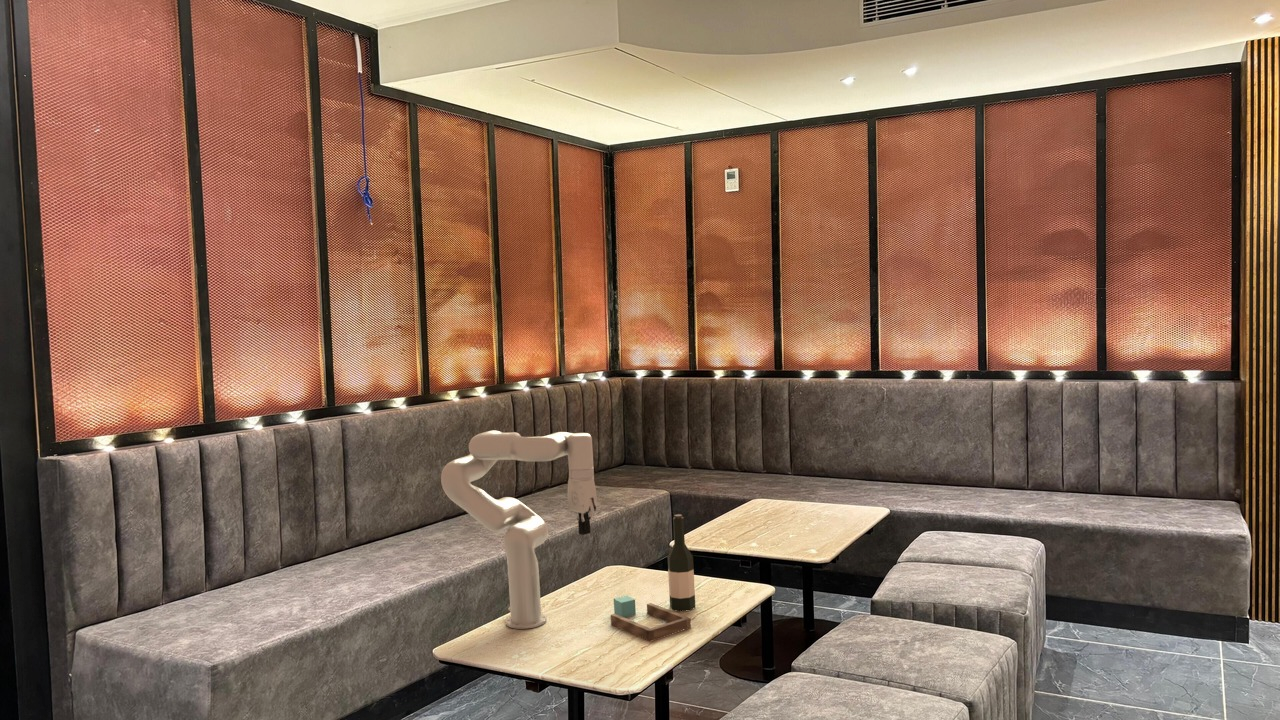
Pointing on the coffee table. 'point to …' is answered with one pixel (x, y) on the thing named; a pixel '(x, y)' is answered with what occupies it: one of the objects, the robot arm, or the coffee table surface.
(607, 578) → the coffee table surface
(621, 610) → the teal block
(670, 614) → the frame
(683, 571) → the wine bottle
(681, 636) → the coffee table surface
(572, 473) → the robot arm
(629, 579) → the coffee table surface
